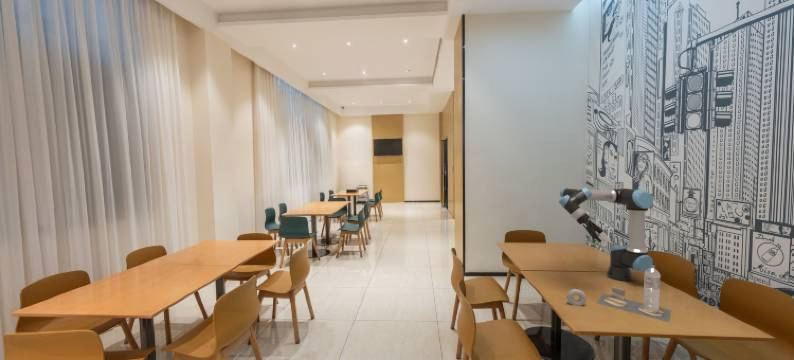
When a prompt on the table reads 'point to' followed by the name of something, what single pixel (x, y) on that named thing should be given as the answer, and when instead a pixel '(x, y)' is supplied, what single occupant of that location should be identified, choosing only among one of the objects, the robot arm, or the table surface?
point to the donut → (576, 302)
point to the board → (635, 308)
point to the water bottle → (651, 290)
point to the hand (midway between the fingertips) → (607, 243)
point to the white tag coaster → (619, 295)
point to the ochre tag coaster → (650, 312)
